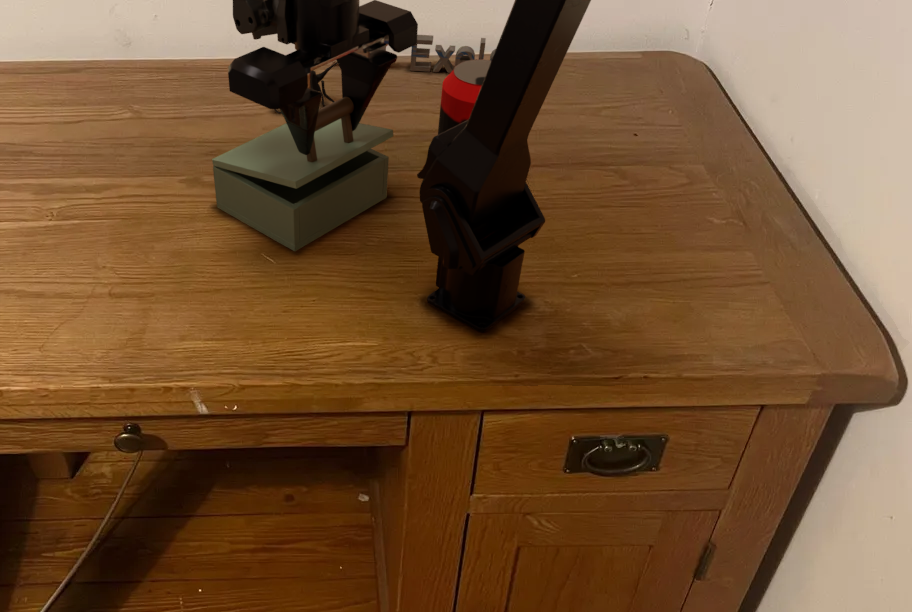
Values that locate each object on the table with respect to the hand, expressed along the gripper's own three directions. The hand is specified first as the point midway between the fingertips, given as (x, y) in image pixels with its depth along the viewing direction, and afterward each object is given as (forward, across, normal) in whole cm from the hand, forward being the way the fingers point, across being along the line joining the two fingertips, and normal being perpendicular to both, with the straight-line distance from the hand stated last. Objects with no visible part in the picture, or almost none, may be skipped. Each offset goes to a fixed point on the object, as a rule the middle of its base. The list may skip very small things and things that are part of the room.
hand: (327, 141), depth 87 cm
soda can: (+8, -15, +6) cm, 18 cm away
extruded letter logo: (+8, -33, -14) cm, 37 cm away
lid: (+2, 0, -3) cm, 4 cm away
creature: (+8, -15, -18) cm, 25 cm away
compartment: (+8, 0, -4) cm, 9 cm away
